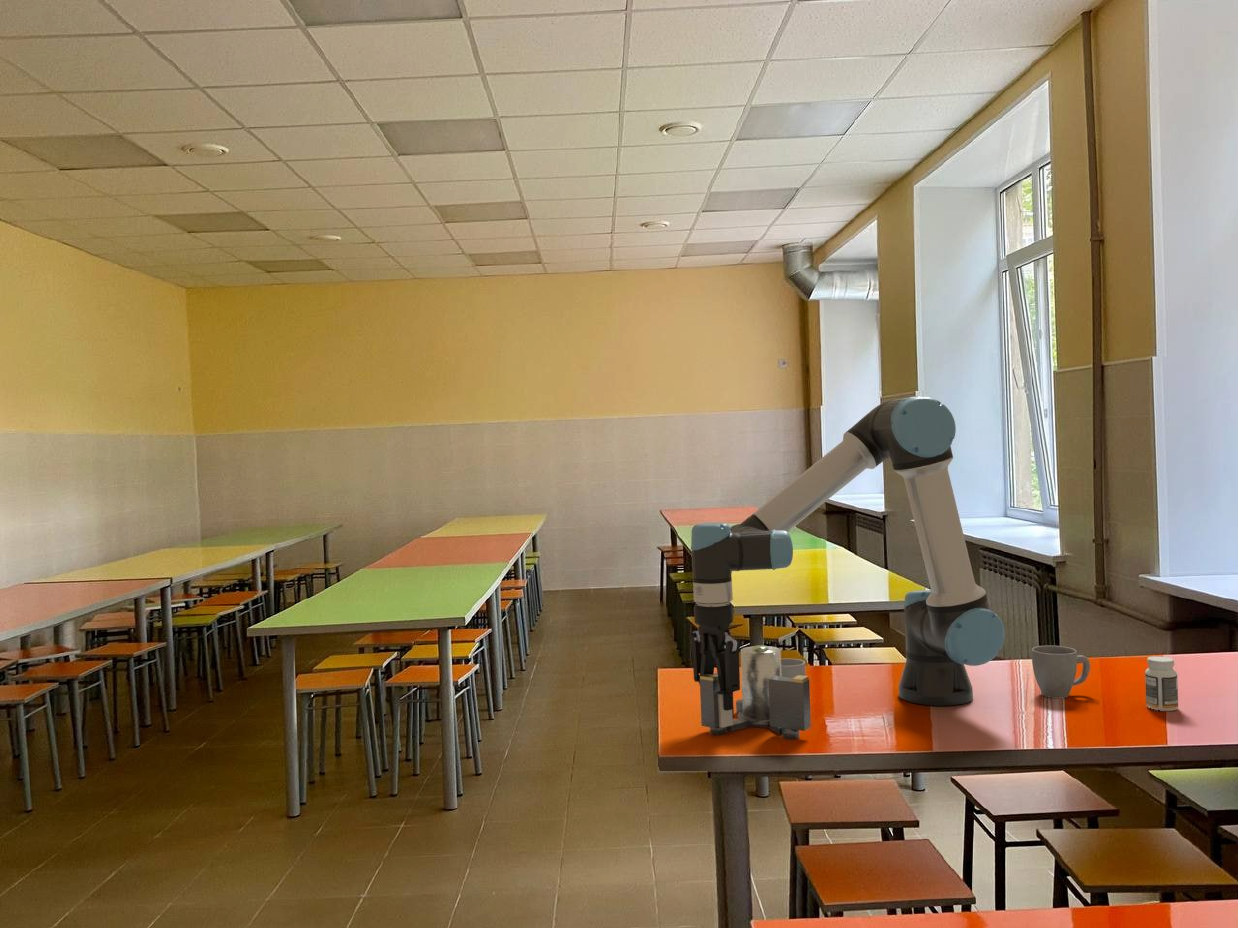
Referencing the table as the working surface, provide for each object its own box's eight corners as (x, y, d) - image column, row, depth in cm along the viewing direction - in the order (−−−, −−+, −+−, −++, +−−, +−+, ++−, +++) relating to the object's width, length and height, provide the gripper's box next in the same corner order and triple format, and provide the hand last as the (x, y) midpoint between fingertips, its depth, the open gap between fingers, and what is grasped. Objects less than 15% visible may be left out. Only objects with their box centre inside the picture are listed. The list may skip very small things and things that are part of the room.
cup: (808, 708, 207) (807, 665, 206) (760, 709, 207) (758, 666, 207) (804, 699, 214) (803, 658, 214) (757, 700, 214) (756, 659, 214)
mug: (1045, 701, 205) (1043, 655, 205) (1025, 690, 214) (1024, 646, 214) (1101, 698, 206) (1100, 652, 206) (1079, 688, 214) (1078, 643, 214)
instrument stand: (800, 713, 203) (798, 641, 203) (790, 735, 188) (787, 658, 188) (736, 710, 207) (734, 639, 207) (720, 731, 192) (718, 655, 192)
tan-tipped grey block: (720, 727, 195) (718, 668, 195) (734, 729, 193) (732, 670, 193) (701, 736, 190) (699, 676, 189) (715, 738, 188) (713, 678, 187)
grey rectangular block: (770, 736, 188) (768, 676, 187) (777, 732, 190) (775, 672, 190) (804, 741, 184) (802, 679, 184) (811, 737, 187) (809, 676, 186)
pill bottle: (1177, 705, 198) (1175, 656, 198) (1179, 713, 193) (1178, 662, 193) (1144, 703, 201) (1143, 655, 201) (1146, 710, 196) (1145, 661, 195)
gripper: (671, 600, 197) (676, 716, 197) (724, 611, 181) (729, 737, 182) (702, 595, 200) (707, 710, 201) (756, 606, 185) (761, 730, 186)
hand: (717, 722), depth 191 cm, fingers closed on tan-tipped grey block, 4 cm apart
